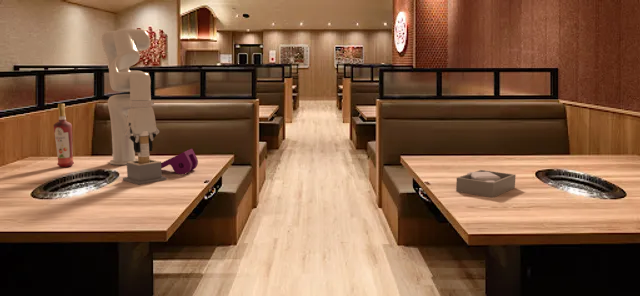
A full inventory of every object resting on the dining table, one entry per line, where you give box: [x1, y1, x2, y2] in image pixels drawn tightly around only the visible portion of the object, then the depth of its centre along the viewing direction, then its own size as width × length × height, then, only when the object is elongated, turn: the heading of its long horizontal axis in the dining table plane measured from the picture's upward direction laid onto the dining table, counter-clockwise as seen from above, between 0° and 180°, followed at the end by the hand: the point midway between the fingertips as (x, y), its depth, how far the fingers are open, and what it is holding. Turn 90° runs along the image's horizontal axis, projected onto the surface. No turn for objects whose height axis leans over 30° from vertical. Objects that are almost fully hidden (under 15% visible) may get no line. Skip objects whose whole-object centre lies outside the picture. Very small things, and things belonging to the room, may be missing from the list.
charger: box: [467, 171, 500, 182], centre depth 188 cm, size 5×9×15 cm
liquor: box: [53, 103, 75, 168], centre depth 229 cm, size 7×7×28 cm
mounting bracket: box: [161, 148, 199, 175], centre depth 220 cm, size 9×8×18 cm
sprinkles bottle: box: [137, 131, 151, 164], centre depth 201 cm, size 5×5×13 cm
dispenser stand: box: [455, 169, 517, 198], centre depth 188 cm, size 14×20×5 cm
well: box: [122, 158, 167, 186], centre depth 203 cm, size 12×12×7 cm
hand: (143, 151), depth 202 cm, fingers closed on sprinkles bottle, 4 cm apart
